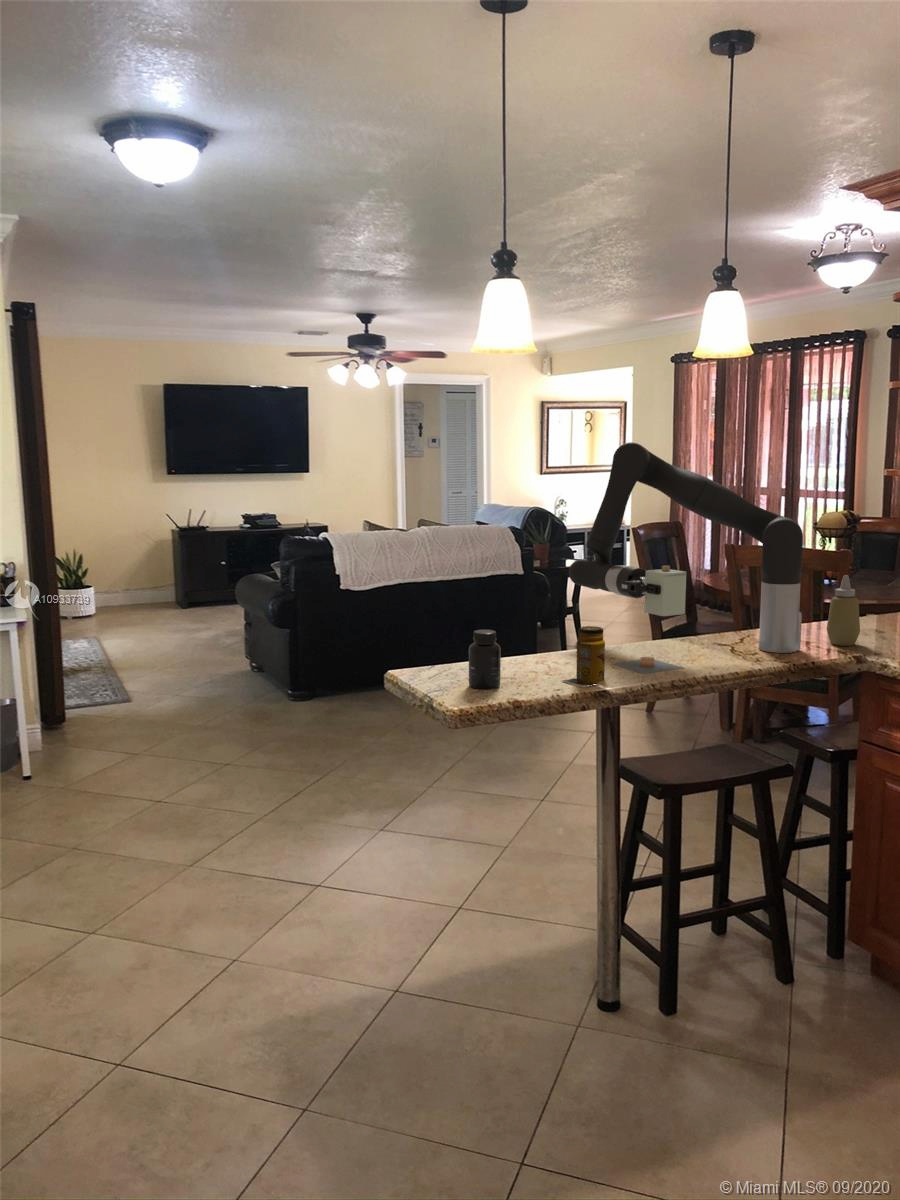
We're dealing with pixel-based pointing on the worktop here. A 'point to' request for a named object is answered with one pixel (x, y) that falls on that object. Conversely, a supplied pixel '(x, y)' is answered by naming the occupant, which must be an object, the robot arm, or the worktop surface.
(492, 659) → the supplement bottle
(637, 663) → the mat
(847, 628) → the squeeze bottle
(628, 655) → the worktop surface
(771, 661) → the worktop surface
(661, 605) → the lidded square canister
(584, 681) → the condiment
